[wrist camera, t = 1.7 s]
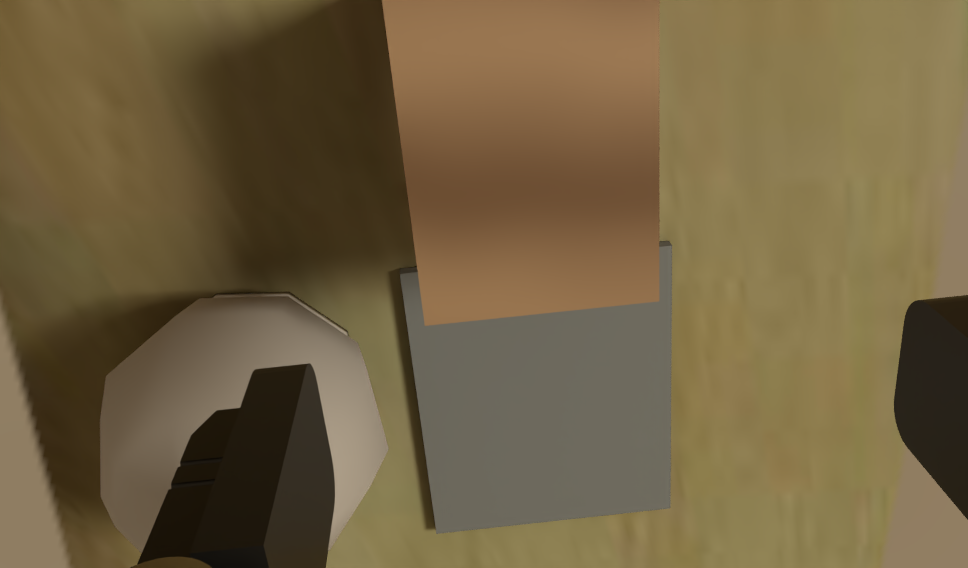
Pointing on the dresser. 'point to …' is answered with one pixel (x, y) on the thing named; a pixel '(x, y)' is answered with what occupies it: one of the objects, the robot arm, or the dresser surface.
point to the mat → (545, 410)
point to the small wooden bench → (529, 152)
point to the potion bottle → (229, 399)
